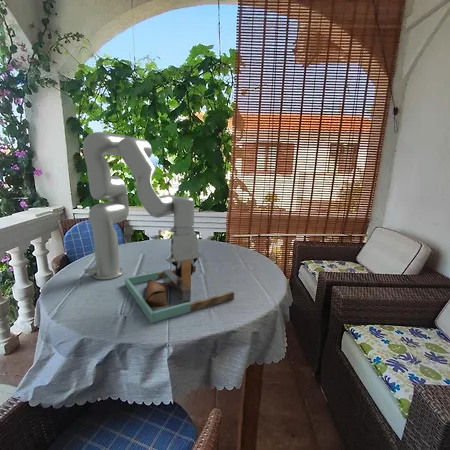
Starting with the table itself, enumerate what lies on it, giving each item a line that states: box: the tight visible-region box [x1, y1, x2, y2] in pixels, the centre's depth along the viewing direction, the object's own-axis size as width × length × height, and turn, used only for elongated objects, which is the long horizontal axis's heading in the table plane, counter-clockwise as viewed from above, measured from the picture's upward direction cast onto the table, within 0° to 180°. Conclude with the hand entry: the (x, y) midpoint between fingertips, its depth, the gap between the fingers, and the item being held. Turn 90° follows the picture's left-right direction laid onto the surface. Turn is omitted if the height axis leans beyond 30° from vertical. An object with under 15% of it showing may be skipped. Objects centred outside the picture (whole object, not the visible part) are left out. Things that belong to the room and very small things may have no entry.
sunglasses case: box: [144, 279, 169, 309], centre depth 107 cm, size 18×7×7 cm
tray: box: [124, 271, 191, 324], centre depth 106 cm, size 14×32×3 cm, turn 33°
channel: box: [157, 264, 235, 312], centre depth 115 cm, size 18×32×2 cm, turn 33°
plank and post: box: [162, 259, 192, 303], centre depth 111 cm, size 7×20×14 cm, turn 33°
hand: (184, 274), depth 112 cm, fingers closed on plank and post, 4 cm apart
